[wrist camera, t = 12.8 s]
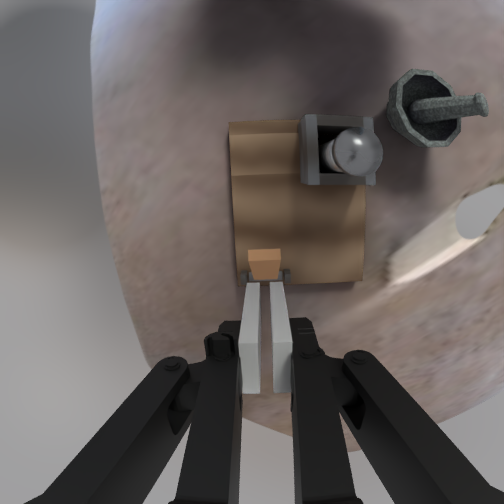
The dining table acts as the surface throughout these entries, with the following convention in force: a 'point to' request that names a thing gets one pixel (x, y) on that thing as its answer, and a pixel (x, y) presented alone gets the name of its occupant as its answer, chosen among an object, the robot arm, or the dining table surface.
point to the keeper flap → (264, 264)
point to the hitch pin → (351, 153)
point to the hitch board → (297, 200)
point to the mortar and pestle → (430, 108)
